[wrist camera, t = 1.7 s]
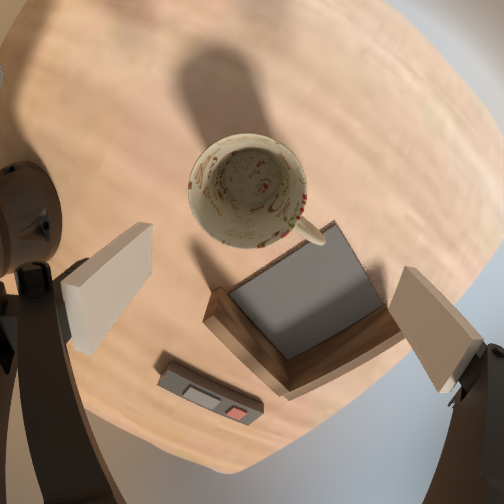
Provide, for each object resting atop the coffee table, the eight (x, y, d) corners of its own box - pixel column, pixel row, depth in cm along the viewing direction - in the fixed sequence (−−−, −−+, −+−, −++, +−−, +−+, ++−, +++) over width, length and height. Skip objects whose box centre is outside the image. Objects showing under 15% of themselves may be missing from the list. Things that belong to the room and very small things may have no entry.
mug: (240, 121, 27) (230, 109, 17) (340, 191, 29) (374, 214, 20) (196, 188, 29) (166, 209, 20) (293, 252, 32) (306, 298, 22)
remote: (160, 375, 40) (156, 386, 37) (171, 360, 38) (167, 371, 36) (248, 416, 42) (247, 427, 40) (263, 403, 41) (263, 415, 39)
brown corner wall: (211, 293, 34) (202, 322, 28) (332, 213, 30) (347, 229, 24) (283, 370, 38) (285, 402, 32) (388, 310, 34) (405, 337, 29)
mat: (229, 292, 34) (229, 294, 33) (335, 223, 30) (336, 224, 30) (287, 358, 37) (288, 360, 37) (381, 303, 34) (382, 304, 33)
